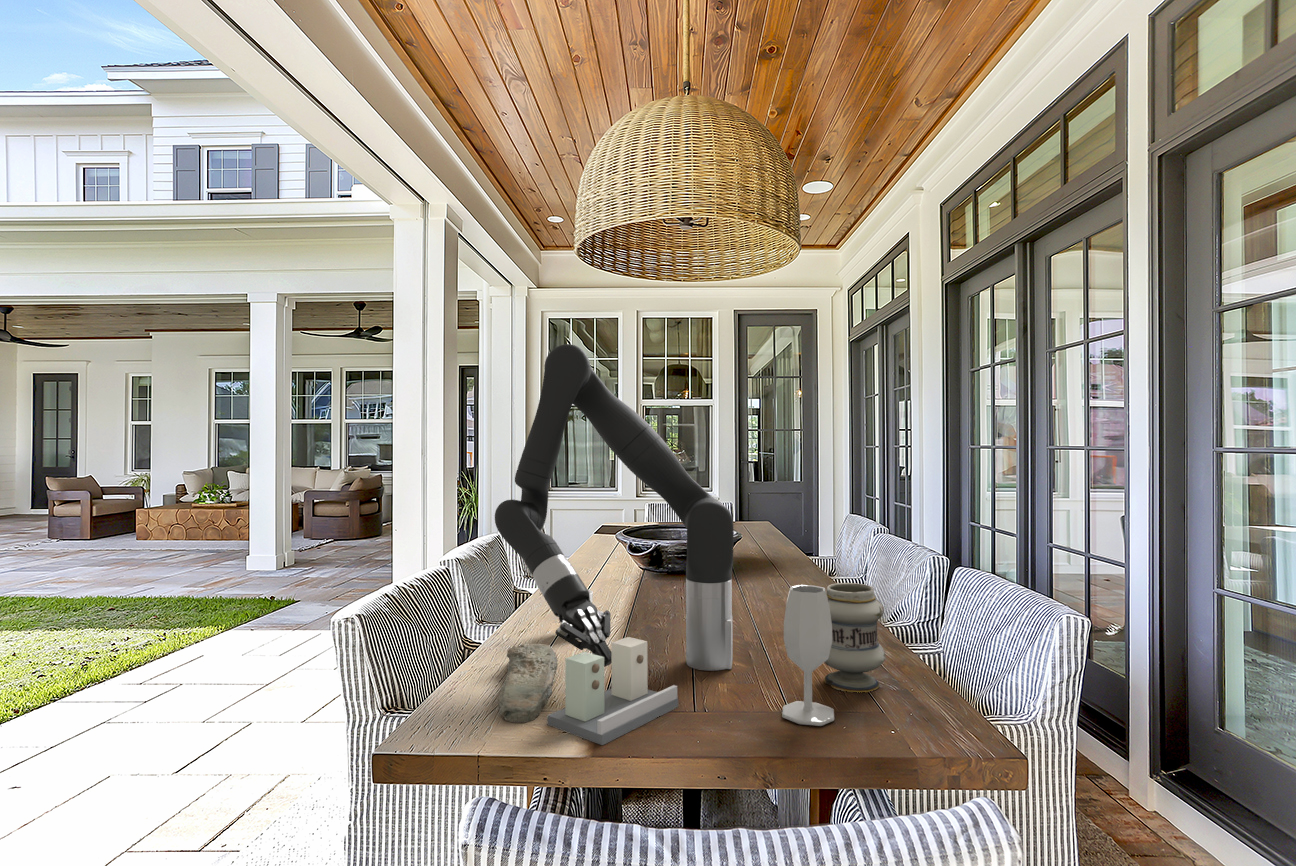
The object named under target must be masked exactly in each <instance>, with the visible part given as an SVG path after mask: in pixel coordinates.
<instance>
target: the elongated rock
mask: <svg viewBox="0 0 1296 866" xmlns="http://www.w3.org/2000/svg"><path fill="white" fill-rule="evenodd" d="M506 657H507V658H508V660H509V661H508V663H507V676H505V677H506V678H505V680H503V683H502V686H501V687H500V692H499V695H498V697H497V700H498V706H499V707H498V708H499V716H500V717H502V718H503V719H504V720H505V721H506V722H510V723H515V724H525V723H528V722H531V721H532V722H533V721H534V720H535V719H537V717H538V715H540V714H541V712H542V709H543V708H545V705H546V704H547V702H548V701H549V700H548V699H549V698H550V697H551V695H552V694H553V689H552V687H553V685H554V680H555V676H556V673H557V669H558V664H559V663H558V658H557V652H555V651H554V649H553V647H552V646H551V645H548V644H543V643H531V644H525V643H524V644H523V643H522V644H520V645H517V646H516V645H513V646H512V647H509V648H508V650H507V652H506Z"/></svg>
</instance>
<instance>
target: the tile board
mask: <svg viewBox="0 0 1296 866" xmlns="http://www.w3.org/2000/svg"><path fill="white" fill-rule="evenodd" d="M676 707H677V708H679V697H678V685H675V684H673V685H670V686H669V687H666V688H664V689H663V690H660V691H655V690H652V689H648V693H647V694H645V695H643V696H641V697H639V698H636V699H634V700H632V701H630V700H626V699H623V698H620V697H617V696H613V695H612V687H611V688H609V689H605V690H604V713H603V714H601V715H599V716H597V717H595V718H592V719H590V720H588V721H586V722H585V721H582V720H579V719H576V718H573V717H570V716H568V715H565V707H564V708H561V709H559V710H556V711H554V712H552V713H550V714H547V716H546V721H547V722H546V724H547V726H549V727H552V726H553V728H555V729H558V730H561V731H563V732H566V733H568V734H571V735H574V736H575V737H578V738H582V739H584V740H587V741H588V742H589V741H590V742H592V743H595V744H597V745H600V746H604V745H606V744H608V743H610V742H612V741H614V740H616V739H618V738H620V737H622V736H624V735H626V734H628V733H630V732H633V731H634V730H636V729H638V728H640V727H641V726H644V725H646V724H648V723H649V722H652V721H653V720H656V719H657V717H658V718H660V717H662V716H663V715H666V714H668V713H670V712H671V711H673V710H675V709H677V708H676ZM674 708H675V709H674ZM659 716H660V717H659Z"/></svg>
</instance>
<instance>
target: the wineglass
mask: <svg viewBox="0 0 1296 866" xmlns="http://www.w3.org/2000/svg"><path fill="white" fill-rule="evenodd" d="M826 592H827V589H826V588H825V587H823V586H818V585H812V584H811V585H810V584H809V585H808V584H797V585H792V586H790V588H789V591H788V595H787V598H786V604H785V605H786V606H785V612H784V620H783V643H784V647H785V651H786V655H787V658H788V659H790V661H792V662H793V664H795V665H796V666H797V667H798V668H799V669H800V670H801V671H803V700H802V701H800V700H795V701H793V702H790V703H788V704H785V705H783V706H782V715H781V718H782V719H786V720H788V721H790V722H792V723H794V724H798V725H802V726H803V725H804V726H814V727H823V726H825V725H827V724H829V723H831V722H834V721H835V710H834V708H833V707H830V706H828V705H825V704H821V703H819V702H813V672H814V671H816V670H817V669H818V668H819V667H820V666H822V665H823V664H825V663H824V662H825V661H826V660H827V659H828V657H829V653H830V649H831V645H832V620H831V613H830V606H829V600H828V597H827V593H826Z"/></svg>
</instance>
